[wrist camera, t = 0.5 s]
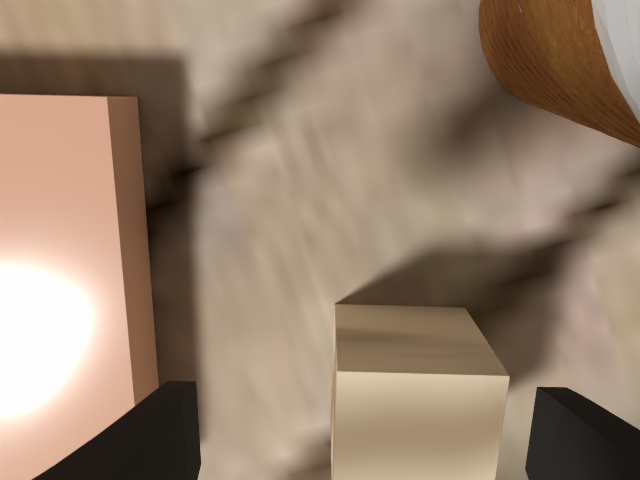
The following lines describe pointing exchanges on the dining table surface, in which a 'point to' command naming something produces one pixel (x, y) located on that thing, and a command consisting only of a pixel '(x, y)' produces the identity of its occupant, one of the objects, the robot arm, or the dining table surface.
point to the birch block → (414, 395)
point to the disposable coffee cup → (569, 58)
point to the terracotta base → (70, 275)
